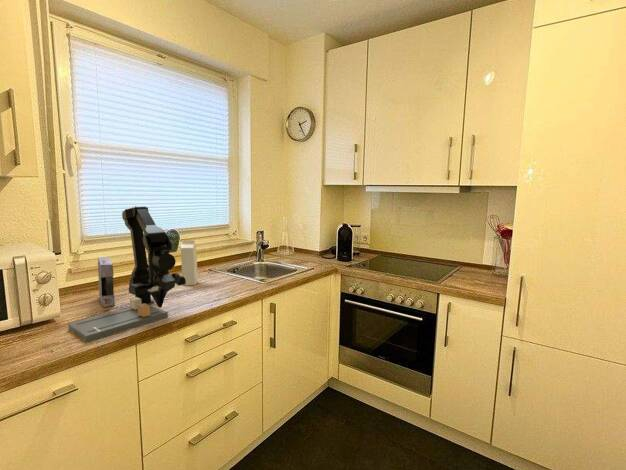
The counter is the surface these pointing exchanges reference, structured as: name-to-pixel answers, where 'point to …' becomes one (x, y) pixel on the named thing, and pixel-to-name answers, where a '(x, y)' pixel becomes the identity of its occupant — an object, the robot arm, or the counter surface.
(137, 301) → the cream slider
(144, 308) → the copper slider
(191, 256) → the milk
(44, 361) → the counter surface
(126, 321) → the panel
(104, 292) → the striped narrow carton
